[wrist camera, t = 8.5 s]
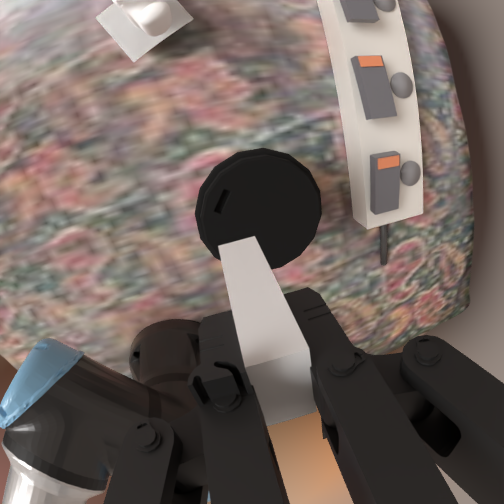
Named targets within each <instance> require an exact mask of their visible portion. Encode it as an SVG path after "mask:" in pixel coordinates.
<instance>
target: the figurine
mask: <svg viewBox="0 0 504 504" xmlns="http://www.w3.org/2000/svg"><path fill="white" fill-rule="evenodd" d="M112 1H113V2H114V3H113V4H112V5H111V6H109V7H108V8H107V9H105V10H104V11H103V12H102V13H100V14H99V15H98V16H97V17H95V18H96V19H97V20H98V22H99V23H100V24H101V25H102V26H103V27H104V28H105V30H106V31H107V32H108V33H109V34H110V35H111V37H112V38H113V39H114V40H115V41H116V42H117V43H118V45H119V46H120V47H121V48H122V49H123V50H124V52H125V53H126V54H127V55H128V56H129V57H130V59H131V60H132V61H133V62H135V61H136V60H137V59H139V58H140V57H141V56H143V55H144V54H145V53H146V52H148V51H149V50H150V49H152V48H153V47H154V46H156V45H157V44H158V43H160V42H161V41H162V40H164V39H165V38H167V37H168V36H169V35H171V34H172V33H174V32H175V31H177V30H178V29H180V28H181V27H183V26H184V25H186V24H187V23H189V22H190V21H192V20H193V18H192V16H191V15H190V14H189V13H188V12H187V11H186V10H185V9H184V7H183V6H182V5H181V4H180V3H179V2H178V1H177V0H112Z"/></svg>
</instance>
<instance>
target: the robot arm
mask: <svg viewBox="0 0 504 504" xmlns="http://www.w3.org/2000/svg"><path fill="white" fill-rule="evenodd" d="M218 248H219V253H220V258H221V262H222V267H223V272H224V276H225V281H226V286H227V290H228V295H229V300H230V304H231V309H232V310H230V311H227V312H223V313H219V314H215V315H212V316H208V317H204V318H203V320H202V322H201V324H200V323H197V322H194V321H189V320H166V321H161V322H158V323H155V324H152V325H150V326H148V327H147V328H145V329H144V330H142V331H141V332H140V333H139V334H138V335H137V336H136V338H135V339H134V341H133V343H132V346H131V351H130V358H129V364H130V370H131V373H132V377H133V379H131V378H129V377H127V376H125V375H122V374H120V373H118V372H116V371H114V370H112V369H110V368H108V367H106V366H104V365H102V364H100V363H98V362H96V361H94V360H93V359H91V358H89V357H87V356H85V355H84V352H82V351H77V350H75V349H73V348H71V347H69V346H67V345H65V344H63V343H61V342H59V341H57V340H55V339H51V338H46V339H42V340H41V341H39V342H38V343H37V344H36V345H35V346H34V347H33V349H32V350H31V352H30V353H29V355H28V356H27V358H26V359H25V361H24V362H23V364H22V365H21V367H20V369H19V370H18V372H17V374H16V376H15V377H14V379H13V381H12V383H11V384H10V386H9V388H8V390H7V392H6V394H5V396H4V398H3V400H2V402H1V405H0V427H1V428H3V429H6V431H5V434H4V438H3V441H2V446H3V448H4V450H5V452H6V454H7V456H8V458H9V460H10V463H11V466H10V471H9V474H8V478H7V483H6V487H5V492H4V497H3V502H2V504H86V502H87V499H89V498H90V497H93V496H96V495H98V494H101V493H103V492H104V491H105V489H106V485H107V481H108V478H109V476H112V477H111V481H110V484H109V487H108V490H107V494H106V497H105V500H104V504H207V502H208V501H211V504H290V503H289V500H288V496H287V493H286V489H285V486H284V483H283V479H282V476H281V472H280V470H279V466H278V462H277V459H276V455H275V452H274V448H273V445H272V442H271V439H270V436H269V433H268V430H267V426H269V425H273V424H277V423H280V422H284V421H287V420H291V419H294V418H297V417H301V416H304V415H307V414H310V413H313V412H316V411H317V409H316V406H317V408H318V410H319V413H320V415H321V421H322V433H323V439H325V438H327V440H328V442H329V444H330V446H331V449H332V452H333V454H334V456H335V459H336V462H337V464H338V466H339V469H340V471H341V474H342V476H343V479H344V481H345V483H346V486H347V488H348V491H349V493H350V496H351V498H352V501H353V503H354V504H458V502H457V501H456V499H455V497H454V495H453V493H452V492H451V490H450V488H449V486H448V484H447V483H446V481H445V479H444V477H443V476H442V474H441V472H440V470H439V469H438V467H437V465H438V466H439V467H440V468H441V469H442V470H443V471H444V472H445V473H446V474H447V475H448V476H449V477H450V478H451V479H452V480H454V481H455V482H456V483H457V484H458V485H459V486H460V487H461V488H462V489H463V490H464V491H465V492H466V493H467V494H468V495H469V496H470V497H471V498H472V499H474V500H475V501H476V502H477V503H478V504H504V384H503V383H502V382H501V381H499V380H498V379H497V378H495V377H494V376H493V375H491V374H490V373H489V372H487V371H486V370H484V369H483V368H482V367H480V366H479V365H478V364H476V363H475V362H473V361H472V360H471V359H469V358H468V357H466V356H465V355H464V354H462V353H461V352H460V351H458V350H457V349H455V348H454V347H452V346H451V345H450V344H448V343H447V342H445V341H444V340H442V339H440V338H438V337H435V336H429V335H424V336H417V337H415V338H413V339H411V340H409V342H408V343H407V344H406V345H405V346H404V348H403V352H402V353H396V354H387V355H371V354H366V353H365V352H364V351H363V350H362V349H360V348H357V347H355V346H353V345H352V343H351V342H350V341H349V339H348V337H347V336H346V334H345V333H344V331H343V330H342V328H341V326H340V325H339V323H338V322H337V320H336V319H335V317H334V316H333V314H332V313H331V311H330V309H329V308H328V306H326V303H325V302H324V300H323V299H322V297H321V295H320V294H319V293H317V292H315V291H314V290H312V289H310V288H308V287H307V288H304V289H301V290H297V291H294V292H290V293H287V294H284V295H283V293H282V291H281V289H280V287H279V285H278V283H277V281H276V279H275V277H274V275H273V272H272V270H271V268H270V266H269V264H268V262H267V260H266V258H265V256H264V254H263V252H262V250H261V248H260V246H259V244H258V242H257V240H256V238H255V236H253V237H249V238H246V239H242V240H238V241H234V242H231V243H227V244H223V245H220V246H218ZM435 463H436V464H437V465H436V464H435Z"/></svg>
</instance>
